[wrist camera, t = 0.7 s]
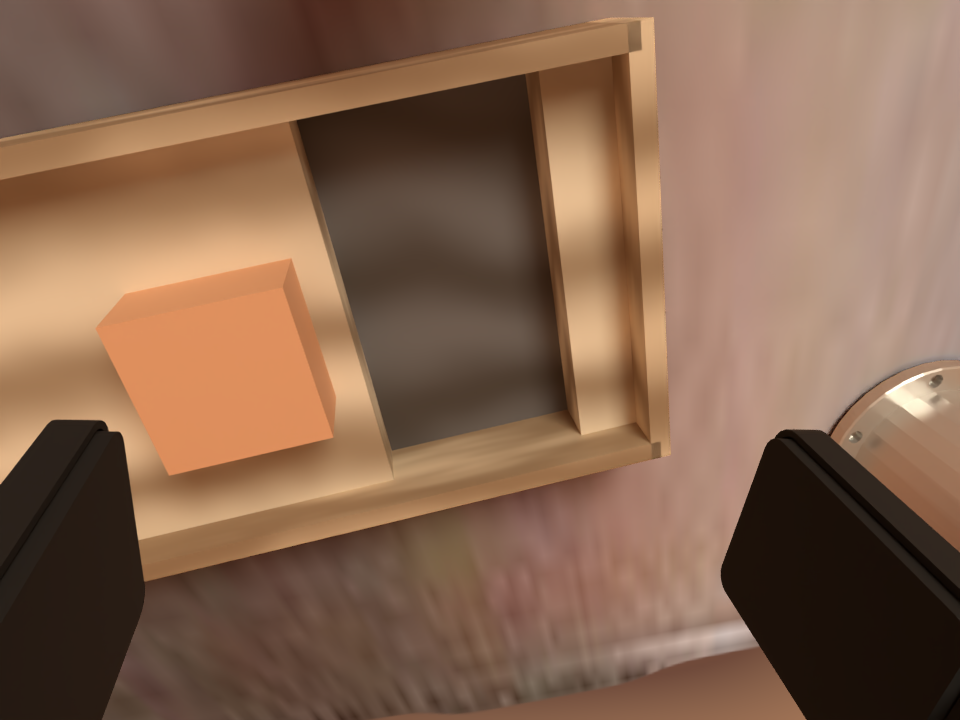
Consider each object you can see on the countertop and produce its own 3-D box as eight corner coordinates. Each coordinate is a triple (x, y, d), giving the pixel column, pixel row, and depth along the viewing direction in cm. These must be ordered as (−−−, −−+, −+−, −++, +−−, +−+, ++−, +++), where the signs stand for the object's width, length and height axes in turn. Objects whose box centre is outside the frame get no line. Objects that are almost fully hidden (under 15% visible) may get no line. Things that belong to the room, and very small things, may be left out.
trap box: (634, 404, 38) (670, 454, 34) (-194, 599, 35) (-273, 682, 31) (608, 17, 28) (653, 17, 24) (-529, 243, 26) (-714, 289, 21)
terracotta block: (335, 396, 31) (333, 437, 28) (188, 430, 31) (169, 475, 28) (291, 258, 28) (282, 287, 25) (124, 293, 28) (95, 328, 24)
